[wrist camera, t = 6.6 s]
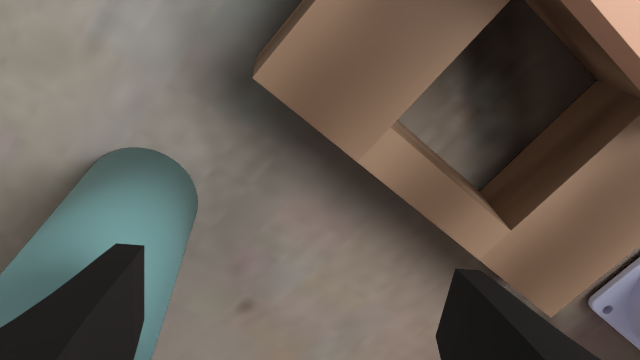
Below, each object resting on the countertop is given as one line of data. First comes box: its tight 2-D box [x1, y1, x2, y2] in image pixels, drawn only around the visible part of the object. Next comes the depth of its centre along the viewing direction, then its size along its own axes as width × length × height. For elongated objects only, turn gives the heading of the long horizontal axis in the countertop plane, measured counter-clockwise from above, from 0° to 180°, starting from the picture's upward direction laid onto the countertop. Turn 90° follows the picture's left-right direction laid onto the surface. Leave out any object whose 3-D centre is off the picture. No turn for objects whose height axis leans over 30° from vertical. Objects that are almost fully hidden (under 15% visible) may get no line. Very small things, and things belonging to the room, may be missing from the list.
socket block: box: [252, 0, 640, 318], centre depth 19 cm, size 16×16×4 cm
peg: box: [0, 148, 198, 360], centre depth 18 cm, size 5×5×9 cm
